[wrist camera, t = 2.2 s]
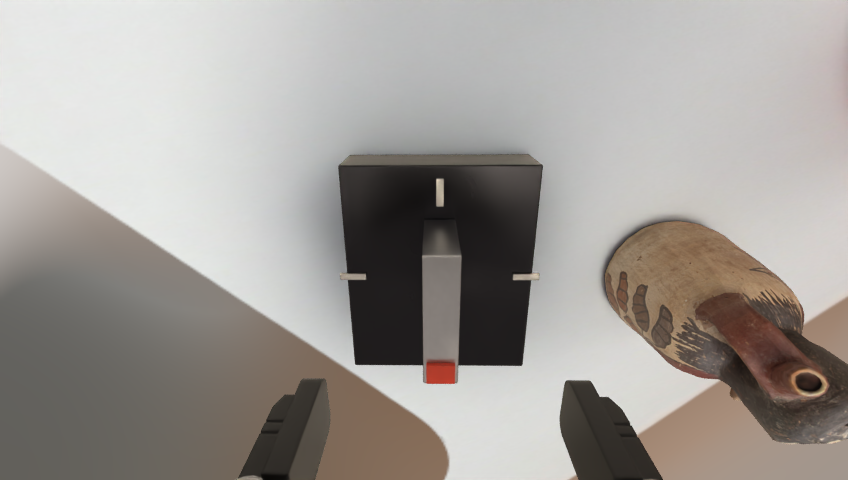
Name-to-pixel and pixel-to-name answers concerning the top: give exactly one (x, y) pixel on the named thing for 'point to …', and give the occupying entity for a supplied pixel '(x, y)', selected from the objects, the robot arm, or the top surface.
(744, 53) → the top surface
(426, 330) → the grey rectangular block
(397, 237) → the tap plate
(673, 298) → the figurine
